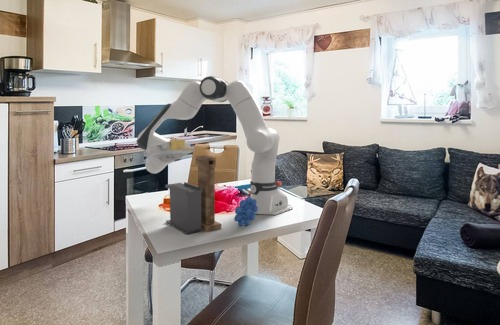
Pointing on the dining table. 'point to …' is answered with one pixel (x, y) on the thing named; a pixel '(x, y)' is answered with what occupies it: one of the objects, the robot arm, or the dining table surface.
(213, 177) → the stand
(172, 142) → the yellow rectangular bar
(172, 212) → the cradle
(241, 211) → the grapes
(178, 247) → the dining table surface
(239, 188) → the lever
